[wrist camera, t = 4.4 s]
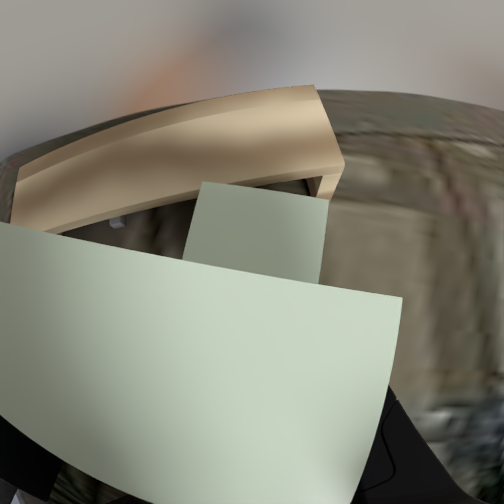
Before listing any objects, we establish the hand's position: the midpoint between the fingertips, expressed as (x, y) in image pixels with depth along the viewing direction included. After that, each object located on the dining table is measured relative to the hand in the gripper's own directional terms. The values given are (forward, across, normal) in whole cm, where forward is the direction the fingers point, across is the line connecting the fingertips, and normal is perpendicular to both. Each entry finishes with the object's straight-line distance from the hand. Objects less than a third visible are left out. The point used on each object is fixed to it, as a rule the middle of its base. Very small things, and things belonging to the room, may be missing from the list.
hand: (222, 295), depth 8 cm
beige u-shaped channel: (+14, +8, +3) cm, 17 cm away
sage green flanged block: (+6, 0, +4) cm, 7 cm away
